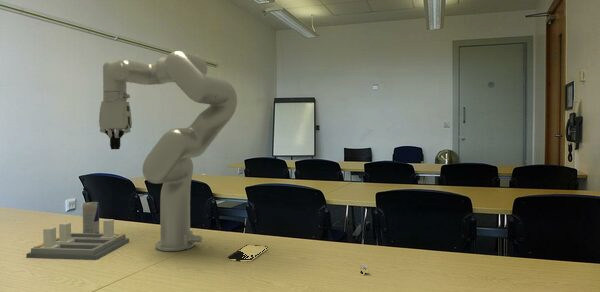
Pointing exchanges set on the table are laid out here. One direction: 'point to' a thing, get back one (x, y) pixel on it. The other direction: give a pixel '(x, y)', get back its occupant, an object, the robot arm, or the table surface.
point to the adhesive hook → (363, 266)
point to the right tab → (108, 229)
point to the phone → (239, 255)
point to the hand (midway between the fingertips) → (115, 149)
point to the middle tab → (65, 233)
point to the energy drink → (91, 217)
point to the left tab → (49, 238)
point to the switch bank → (80, 247)
